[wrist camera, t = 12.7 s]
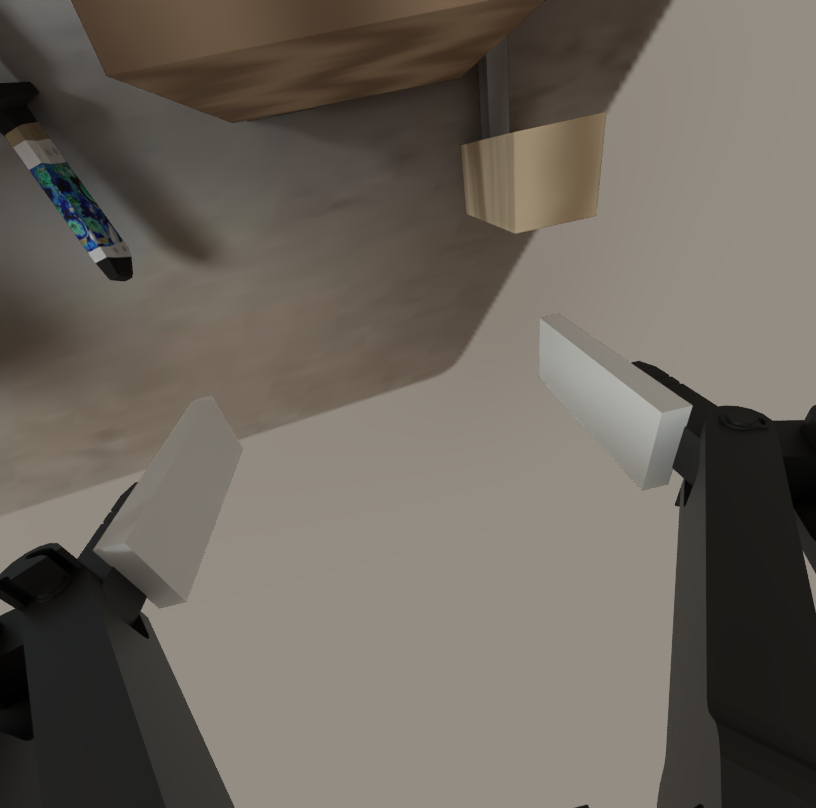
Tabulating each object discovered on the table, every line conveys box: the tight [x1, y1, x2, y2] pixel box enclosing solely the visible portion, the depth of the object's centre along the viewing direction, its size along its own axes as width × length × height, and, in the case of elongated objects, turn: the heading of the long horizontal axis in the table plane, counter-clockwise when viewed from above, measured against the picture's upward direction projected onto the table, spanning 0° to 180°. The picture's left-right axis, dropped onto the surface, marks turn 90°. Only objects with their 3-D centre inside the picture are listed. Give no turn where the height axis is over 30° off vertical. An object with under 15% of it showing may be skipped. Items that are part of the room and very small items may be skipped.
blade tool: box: [461, 35, 606, 234], centre depth 21 cm, size 5×21×12 cm, turn 10°
